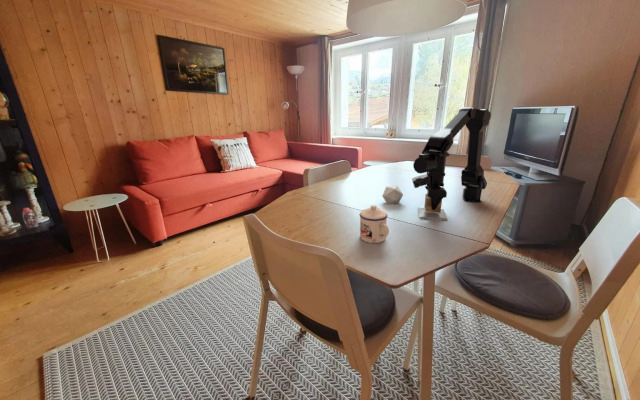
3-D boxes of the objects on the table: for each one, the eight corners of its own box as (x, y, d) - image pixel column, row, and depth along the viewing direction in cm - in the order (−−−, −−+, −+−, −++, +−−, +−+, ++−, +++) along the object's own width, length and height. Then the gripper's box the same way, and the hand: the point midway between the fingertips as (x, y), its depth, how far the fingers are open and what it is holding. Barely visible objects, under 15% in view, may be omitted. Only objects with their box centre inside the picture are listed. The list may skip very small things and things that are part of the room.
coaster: (443, 210, 108) (443, 209, 108) (447, 220, 99) (447, 218, 99) (418, 209, 111) (418, 207, 111) (419, 218, 102) (419, 216, 102)
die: (398, 209, 114) (408, 190, 114) (381, 199, 114) (391, 180, 114) (393, 208, 122) (402, 191, 123) (377, 200, 122) (386, 182, 123)
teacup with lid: (354, 235, 91) (354, 204, 87) (375, 229, 94) (376, 199, 91) (375, 250, 81) (376, 216, 77) (398, 243, 84) (400, 210, 80)
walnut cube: (438, 207, 106) (440, 194, 104) (440, 212, 101) (442, 199, 99) (424, 206, 108) (425, 194, 106) (425, 211, 103) (426, 198, 101)
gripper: (413, 163, 110) (410, 198, 115) (415, 174, 93) (412, 214, 98) (442, 164, 106) (438, 200, 112) (449, 175, 90) (444, 216, 95)
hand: (432, 207), depth 104 cm, fingers closed on walnut cube, 5 cm apart
